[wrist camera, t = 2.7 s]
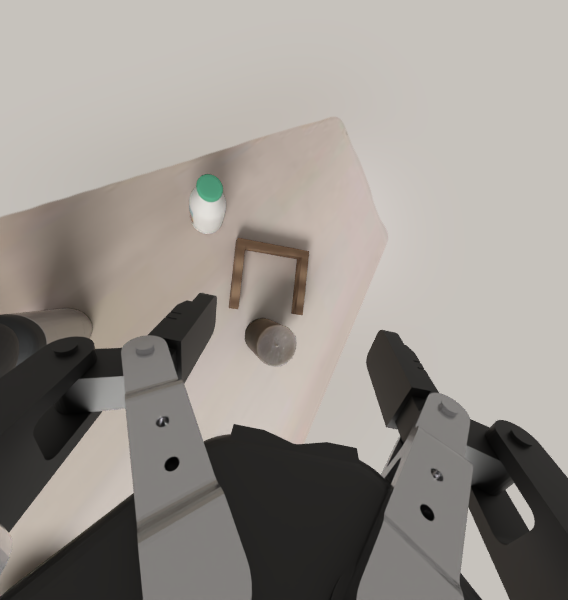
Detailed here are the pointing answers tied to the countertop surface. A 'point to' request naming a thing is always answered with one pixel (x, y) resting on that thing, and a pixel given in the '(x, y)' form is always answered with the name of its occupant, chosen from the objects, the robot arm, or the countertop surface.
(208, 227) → the milk bottle
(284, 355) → the pillar candle
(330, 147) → the countertop surface
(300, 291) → the display frame
